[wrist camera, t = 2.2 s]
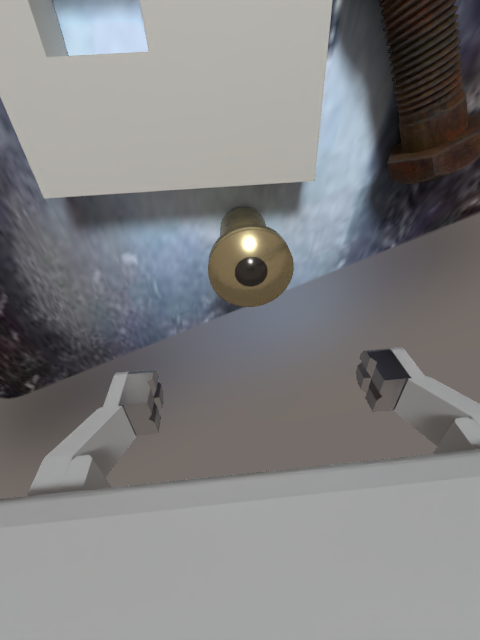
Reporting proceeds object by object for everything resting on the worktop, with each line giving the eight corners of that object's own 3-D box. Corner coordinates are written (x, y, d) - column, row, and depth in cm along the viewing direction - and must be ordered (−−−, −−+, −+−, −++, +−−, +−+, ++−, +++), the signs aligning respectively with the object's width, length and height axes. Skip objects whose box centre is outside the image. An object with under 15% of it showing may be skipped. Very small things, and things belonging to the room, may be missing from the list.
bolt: (368, -167, 14) (417, 149, 22) (293, -129, 13) (373, 187, 21) (520, -360, 9) (514, 132, 17) (421, -321, 8) (462, 180, 16)
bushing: (276, 193, 22) (296, 227, 17) (274, 257, 25) (291, 304, 20) (206, 197, 22) (203, 234, 16) (213, 261, 25) (212, 310, 20)
